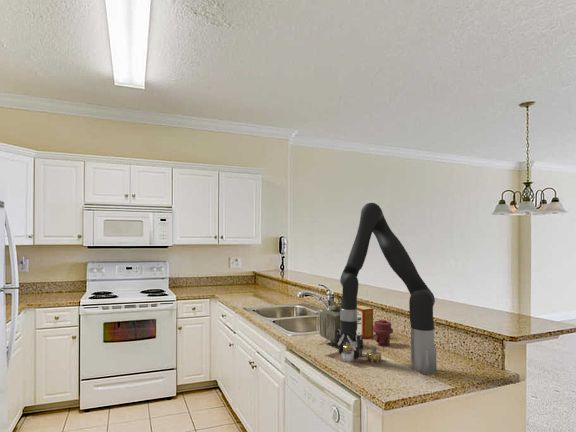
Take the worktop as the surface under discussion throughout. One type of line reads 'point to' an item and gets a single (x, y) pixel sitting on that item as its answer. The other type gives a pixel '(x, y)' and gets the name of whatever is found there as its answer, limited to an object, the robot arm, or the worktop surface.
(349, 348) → the gear
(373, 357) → the gear
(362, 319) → the baking soda box
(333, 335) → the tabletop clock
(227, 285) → the worktop surface
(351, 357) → the steel gear
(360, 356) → the gear board
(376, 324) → the mechanical component
